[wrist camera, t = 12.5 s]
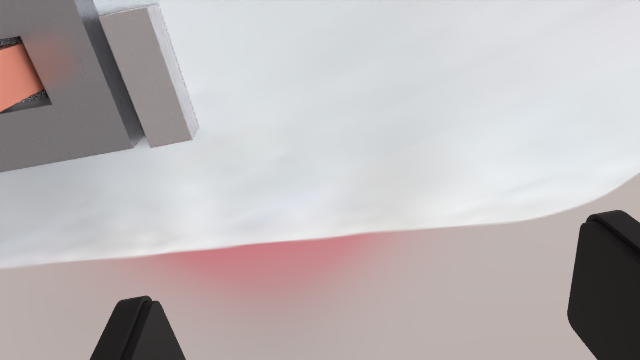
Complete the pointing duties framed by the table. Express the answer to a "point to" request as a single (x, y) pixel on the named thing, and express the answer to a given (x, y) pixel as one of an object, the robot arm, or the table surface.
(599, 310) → the robot arm
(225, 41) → the table surface
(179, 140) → the tilted grey slab block
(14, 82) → the pin
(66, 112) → the square hole plate
